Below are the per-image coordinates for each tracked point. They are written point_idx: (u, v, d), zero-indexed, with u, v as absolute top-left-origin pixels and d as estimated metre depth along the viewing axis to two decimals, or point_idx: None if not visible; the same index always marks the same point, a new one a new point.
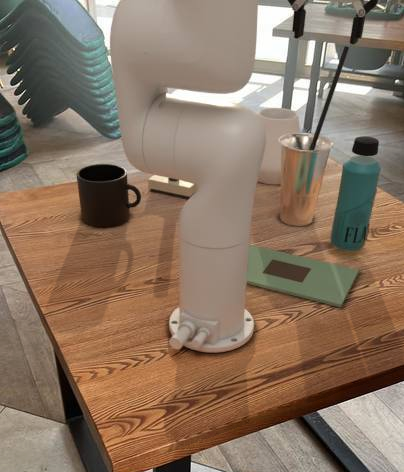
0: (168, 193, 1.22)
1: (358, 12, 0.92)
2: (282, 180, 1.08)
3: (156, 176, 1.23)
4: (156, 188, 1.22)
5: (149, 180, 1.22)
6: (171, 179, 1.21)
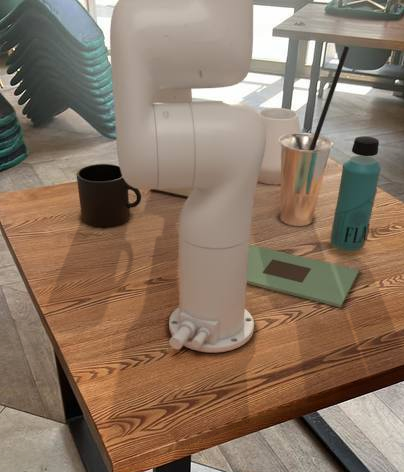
0: (168, 193, 1.22)
1: None
2: (282, 180, 1.08)
3: None
4: None
5: None
6: None
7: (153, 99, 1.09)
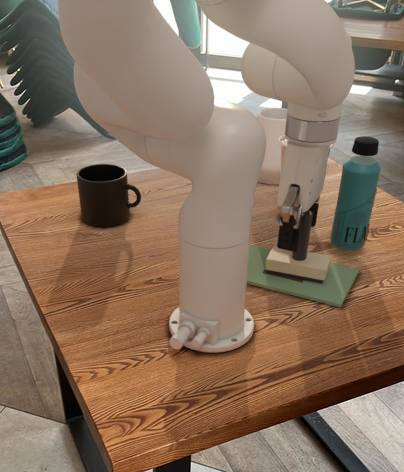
0: (293, 275, 0.95)
1: None
2: None
3: (275, 254, 0.96)
4: (277, 270, 0.95)
5: (268, 260, 0.95)
6: (297, 258, 0.94)
7: (287, 163, 0.82)
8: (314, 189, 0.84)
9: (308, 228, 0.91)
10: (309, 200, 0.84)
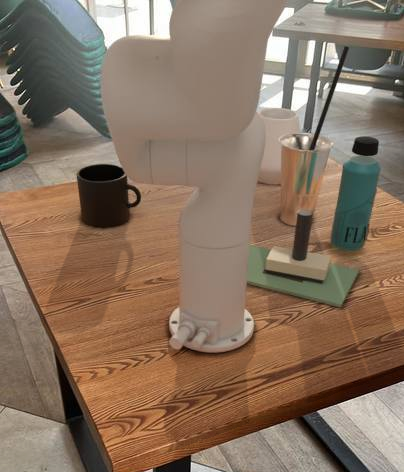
0: (293, 275, 0.95)
1: None
2: (282, 180, 1.08)
3: (275, 254, 0.96)
4: (277, 270, 0.95)
5: (268, 260, 0.95)
6: (297, 258, 0.94)
7: None
8: None
9: (308, 228, 0.91)
10: None
